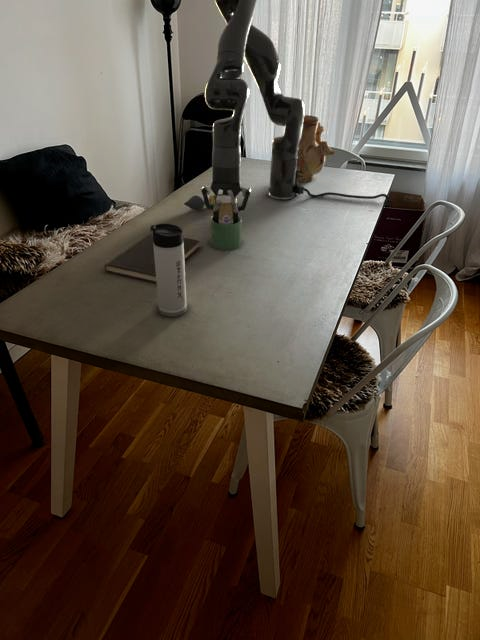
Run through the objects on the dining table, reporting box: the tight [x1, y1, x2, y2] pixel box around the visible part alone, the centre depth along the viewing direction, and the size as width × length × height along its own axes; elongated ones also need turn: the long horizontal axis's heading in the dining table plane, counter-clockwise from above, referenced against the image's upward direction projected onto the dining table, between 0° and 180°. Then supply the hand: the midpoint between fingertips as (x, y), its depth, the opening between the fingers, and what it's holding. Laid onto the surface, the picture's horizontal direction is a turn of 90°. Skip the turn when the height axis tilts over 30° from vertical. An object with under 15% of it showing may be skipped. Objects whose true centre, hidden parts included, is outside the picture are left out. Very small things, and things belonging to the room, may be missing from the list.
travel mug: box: [149, 223, 188, 318], centre depth 100 cm, size 6×7×20 cm
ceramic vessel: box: [297, 113, 335, 182], centre depth 183 cm, size 18×19×25 cm
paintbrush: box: [183, 194, 217, 211], centre depth 160 cm, size 20×5×5 cm, turn 134°
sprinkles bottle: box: [218, 195, 234, 224], centre depth 132 cm, size 5×5×13 cm
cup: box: [209, 215, 243, 251], centre depth 134 cm, size 9×9×8 cm
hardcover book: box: [104, 231, 201, 284], centre depth 126 cm, size 16×23×2 cm
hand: (225, 223), depth 133 cm, fingers closed on sprinkles bottle, 4 cm apart
